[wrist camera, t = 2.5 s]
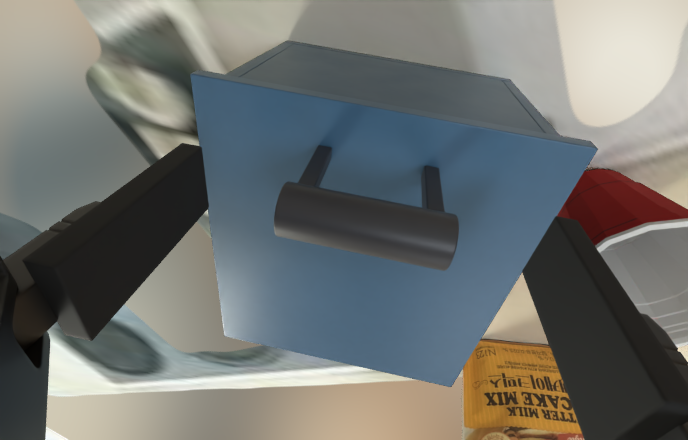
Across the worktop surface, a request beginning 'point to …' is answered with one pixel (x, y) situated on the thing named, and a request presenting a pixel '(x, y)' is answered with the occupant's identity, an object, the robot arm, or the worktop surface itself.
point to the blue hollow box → (396, 84)
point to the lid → (370, 221)
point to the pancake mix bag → (515, 394)
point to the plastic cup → (638, 243)
